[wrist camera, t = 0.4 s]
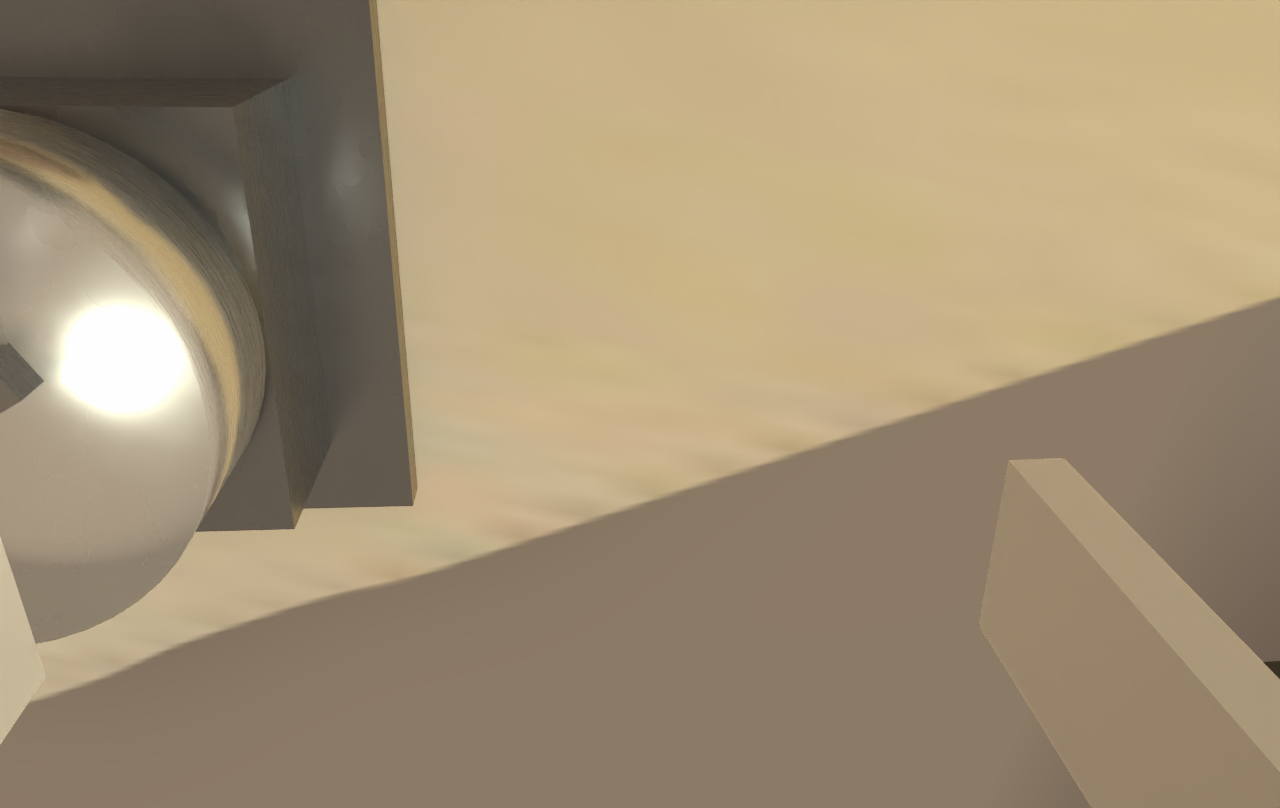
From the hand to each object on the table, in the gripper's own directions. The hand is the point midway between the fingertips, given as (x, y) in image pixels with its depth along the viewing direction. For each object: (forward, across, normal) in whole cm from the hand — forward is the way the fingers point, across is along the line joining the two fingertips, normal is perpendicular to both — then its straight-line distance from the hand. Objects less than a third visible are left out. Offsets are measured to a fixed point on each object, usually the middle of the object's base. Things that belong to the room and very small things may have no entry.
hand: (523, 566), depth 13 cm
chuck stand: (+27, -16, -4) cm, 31 cm away
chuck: (+18, -16, -3) cm, 24 cm away
